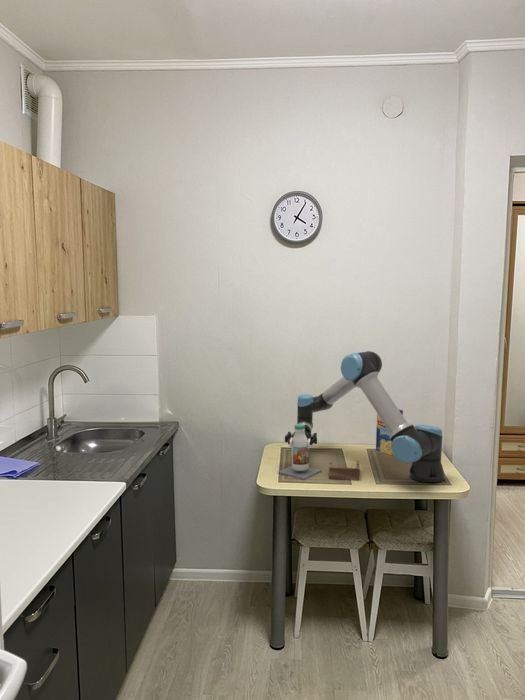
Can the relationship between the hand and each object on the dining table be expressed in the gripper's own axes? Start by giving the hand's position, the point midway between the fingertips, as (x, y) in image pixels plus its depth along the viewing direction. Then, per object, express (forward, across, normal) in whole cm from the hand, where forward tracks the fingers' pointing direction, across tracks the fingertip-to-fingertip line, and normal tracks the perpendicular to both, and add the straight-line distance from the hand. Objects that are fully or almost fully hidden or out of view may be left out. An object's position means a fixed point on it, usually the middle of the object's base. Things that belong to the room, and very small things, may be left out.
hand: (299, 444), depth 254 cm
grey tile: (-5, 0, -14) cm, 15 cm away
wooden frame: (-5, -20, -14) cm, 25 cm away
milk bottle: (-4, 0, -12) cm, 13 cm away
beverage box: (-44, -42, -14) cm, 62 cm away
